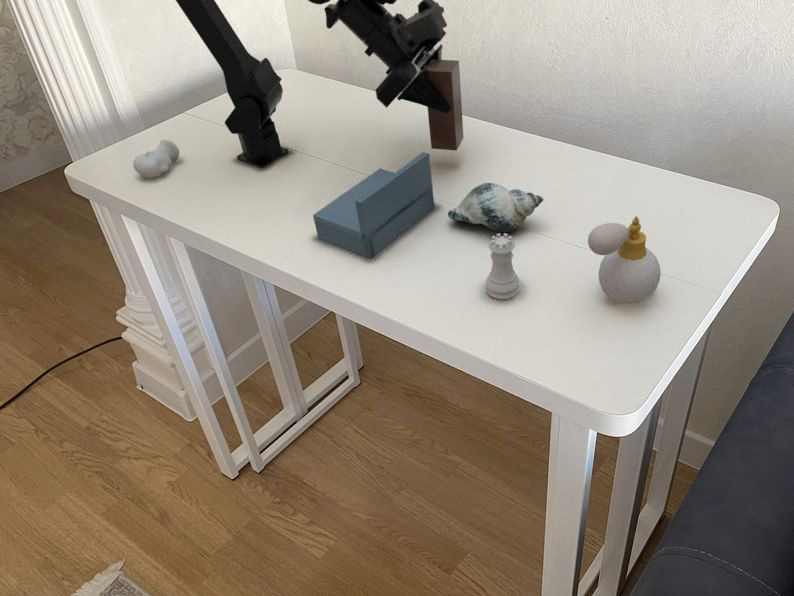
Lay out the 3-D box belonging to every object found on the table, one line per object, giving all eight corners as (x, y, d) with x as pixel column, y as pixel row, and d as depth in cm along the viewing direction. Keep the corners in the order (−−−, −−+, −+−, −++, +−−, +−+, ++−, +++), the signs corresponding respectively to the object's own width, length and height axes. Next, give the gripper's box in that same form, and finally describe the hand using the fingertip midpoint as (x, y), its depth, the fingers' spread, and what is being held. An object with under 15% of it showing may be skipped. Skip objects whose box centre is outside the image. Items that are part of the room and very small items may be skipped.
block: (431, 148, 114) (423, 70, 106) (438, 136, 117) (432, 59, 109) (456, 150, 113) (451, 72, 105) (463, 138, 116) (459, 60, 108)
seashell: (472, 215, 110) (539, 238, 104) (442, 218, 104) (512, 243, 98) (480, 173, 107) (549, 194, 101) (450, 174, 101) (522, 197, 96)
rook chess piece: (483, 281, 95) (481, 230, 90) (517, 278, 95) (517, 227, 90) (487, 302, 92) (485, 251, 86) (522, 299, 92) (522, 247, 87)
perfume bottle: (667, 290, 92) (681, 209, 84) (630, 332, 86) (641, 250, 78) (614, 270, 95) (623, 190, 87) (576, 310, 90) (581, 229, 82)
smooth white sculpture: (152, 189, 120) (130, 174, 121) (190, 167, 124) (168, 152, 125) (148, 169, 116) (125, 153, 118) (186, 147, 121) (165, 132, 122)
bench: (318, 238, 105) (305, 183, 98) (383, 190, 113) (375, 137, 107) (370, 259, 100) (360, 203, 94) (434, 207, 109) (429, 153, 103)
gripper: (386, 9, 94) (472, 97, 99) (427, -35, 107) (502, 45, 112) (340, 66, 101) (423, 145, 106) (384, 19, 114) (456, 91, 119)
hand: (453, 104), depth 110 cm, fingers closed on block, 4 cm apart
